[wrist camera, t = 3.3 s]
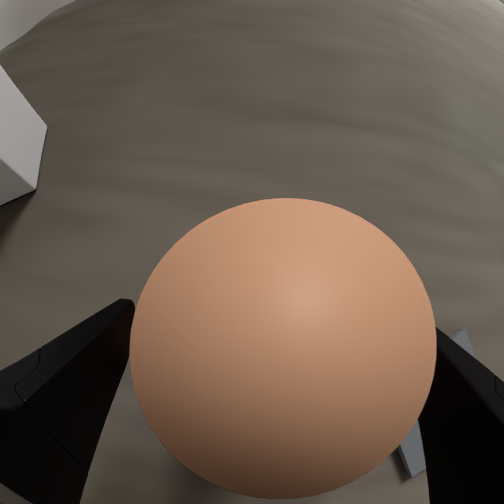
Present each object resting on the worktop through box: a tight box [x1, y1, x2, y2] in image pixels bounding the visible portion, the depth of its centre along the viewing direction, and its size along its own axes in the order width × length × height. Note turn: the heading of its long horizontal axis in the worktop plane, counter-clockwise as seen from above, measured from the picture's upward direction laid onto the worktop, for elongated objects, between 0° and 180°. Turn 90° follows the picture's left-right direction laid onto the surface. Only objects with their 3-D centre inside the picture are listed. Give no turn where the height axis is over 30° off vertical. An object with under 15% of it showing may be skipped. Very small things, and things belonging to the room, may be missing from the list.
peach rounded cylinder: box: [129, 198, 436, 499], centre depth 10 cm, size 4×4×13 cm
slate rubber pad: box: [397, 329, 475, 477], centre depth 14 cm, size 7×7×1 cm
